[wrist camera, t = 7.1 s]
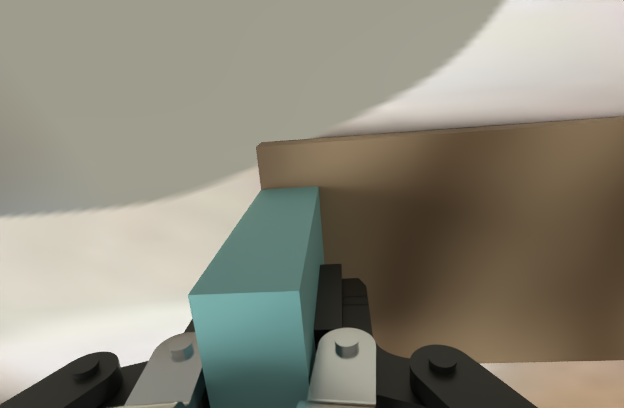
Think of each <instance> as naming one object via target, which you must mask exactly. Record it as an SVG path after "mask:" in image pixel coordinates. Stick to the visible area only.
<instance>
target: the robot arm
mask: <svg viewBox="0 0 624 408" xmlns="http://www.w3.org/2000/svg"><path fill="white" fill-rule="evenodd" d="M314 340H315V351H316V358H315V363H314V367H313V372H312V376H311V381H310V386H309V390H308V395H307V399H306V400H300V401H299V402H298V404H297V408H537V407H536V406H535V405H533V404H532V403H531V402H529V401H528V400H527V399H525V398H524V397H523V396H521V395H520V394H519V393H517V392H516V391H515V390H513V389H512V388H511V387H509V386H508V385H507V384H505V383H504V382H503V381H501V380H500V379H499V378H497V377H496V376H495V375H493V374H492V373H491V372H489V371H488V370H487V369H485V368H484V367H483V366H481V365H480V364H479V363H477V362H476V361H475V360H473V359H472V358H471V357H469V356H468V355H467V354H465V353H464V352H462V351H460V350H458V349H456V348H454V347H450V346H446V345H437V344H435V345H427V346H423V347H421V348H419V349H417V350H416V351H414V353H413V354H412V355H411V357H410V358H405V357H400V356H396V355H393V354H391V353H388V352H386V351H385V350H383V349H382V348H380V347H379V346H378V345H377V344H376V342H375V340H374V338H373V333H372V326H371V318H370V311H369V303H368V295H367V288H366V285H365V284H364V283H363V282H362V281H361V280H360V279H359V278H347V279H343V278H342V264H322V265H320V270H319V280H318V290H317V300H316V310H315V321H314ZM0 408H210V404H209V399H208V394H207V388H206V383H205V378H204V373H203V368H202V363H201V358H200V353H199V348H198V343H197V338H196V333H195V328H194V323H193V319H192V320H191V322H190V324H189V325H188V327H187V329H186V330H185V332H184V333H182V334H178V335H175V336H173V337H170V338H169V339H167V340H165V341H164V342H162V343H161V344H160V345H159V346H158V347H157V348H156V349H155V351H154V352H153V354H152V356H151V358H150V359H149V361H146V362H142V363H138V364H134V365H130V366H126V367H120V364H119V360H118V357H117V356H116V355H115V354H113V353H111V352H97V353H92V354H88V355H85V356H83V357H80V358H78V359H76V360H74V361H72V362H71V363H69V364H67V365H66V366H64V367H62V368H61V369H59V370H57V371H56V372H54V373H52V374H51V375H49V376H47V377H46V378H44V379H42V380H41V381H39V382H37V383H36V384H34V385H32V386H31V387H29V388H27V389H26V390H24V391H22V392H21V393H19V394H17V395H16V396H14V397H12V398H11V399H9V400H7V401H6V402H4V403H2V404H1V405H0Z"/></svg>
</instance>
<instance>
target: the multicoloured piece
mask: <svg viewBox="0 0 624 408" xmlns="http://www.w3.org/2000/svg"><path fill="white" fill-rule="evenodd" d="M256 150H257V159H258V167H259V175H260V183H261V191H260V192H259V194H258V195H257V197H256V198H255V200H254V201H253V202H252V204H251V205H250V207H249V208H248V210H247V211H246V213H245V214H244V215H243V217H242V218H241V220H240V221H239V223H238V224H237V225H236V227H235V228H234V230H233V231H232V233H231V234H230V236H229V237H228V238H227V240H226V241H225V243H224V244H223V246H222V247H221V249H220V250H219V251H218V253H217V254H216V256H215V257H214V259H213V260H212V261H211V263H210V264H209V266H208V267H207V269H206V270H205V272H204V273H203V274H202V276H201V277H200V279H199V280H198V282H197V283H196V284H195V286H194V287H193V289H192V290H191V292H190V293H189V295H188V298H189V303H190V308H191V313H192V318H193V323H194V328H195V333H196V338H197V343H198V348H199V353H200V358H201V363H202V368H203V373H204V378H205V383H206V388H207V394H208V399H209V404H210V408H297V404H298V402H299V401H300V400H306V399H307V395H308V390H309V386H310V381H311V376H312V372H313V367H314V363H315V358H316V351H315V340H314V321H315V310H316V300H317V290H318V280H319V270H320V265H322V264H342V278H343V279H347V278H359V279H360V280H361V281H362V282H363V283H364V284H365V285H366V288H367V295H368V303H369V311H370V318H371V326H372V333H373V338H374V340H375V342H376V344H377V345H378V346H379V347H380V348H382V349H383V350H385V351H386V352H388V353H391V354H393V355H396V356H400V357H405V358H410V357H411V355H412V354H413V353H414V351H416V350H417V349H419V348H421V347H423V346H427V345H435V344H437V345H446V346H450V347H454V348H456V349H458V350H460V351H462V352H464V353H465V354H467V355H468V356H469V357H471V358H472V359H473V360H475V361H476V362H477V363H513V362H559V361H605V360H624V116H623V117H609V118H595V119H581V120H568V121H554V122H540V123H526V124H512V125H498V126H484V127H470V128H456V129H442V130H428V131H414V132H400V133H386V134H372V135H358V136H344V137H330V138H316V139H302V140H289V141H275V142H262V143H260V144H259V145H258V146H257V147H256Z"/></svg>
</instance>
